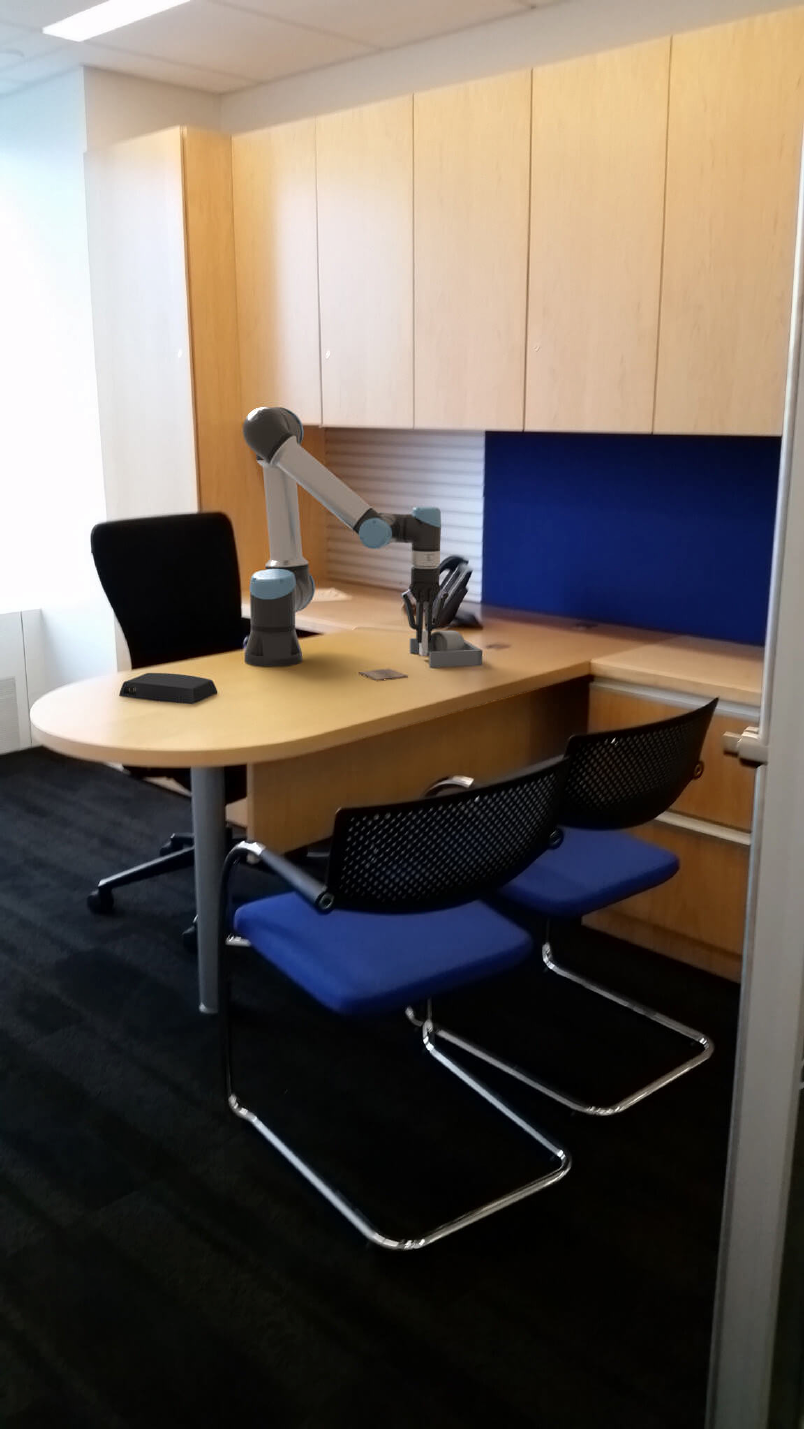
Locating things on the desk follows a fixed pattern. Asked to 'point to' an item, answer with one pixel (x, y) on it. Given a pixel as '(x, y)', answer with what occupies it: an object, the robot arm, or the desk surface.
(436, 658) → the grey c-shaped bracket
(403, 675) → the walnut coaster
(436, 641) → the ceramic mug
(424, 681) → the desk surface
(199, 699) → the external hard drive
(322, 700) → the desk surface
